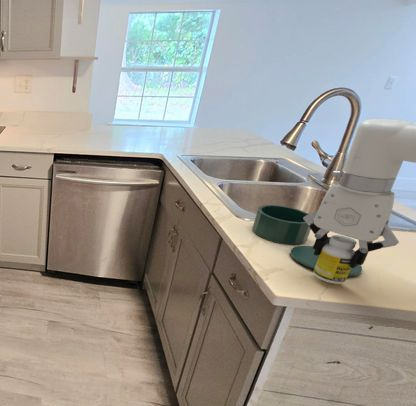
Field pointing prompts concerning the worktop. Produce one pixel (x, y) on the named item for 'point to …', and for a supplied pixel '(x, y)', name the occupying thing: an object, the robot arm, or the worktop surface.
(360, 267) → the lid
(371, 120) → the robot arm
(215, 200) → the worktop surface
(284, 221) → the pot
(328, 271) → the supplement bottle
